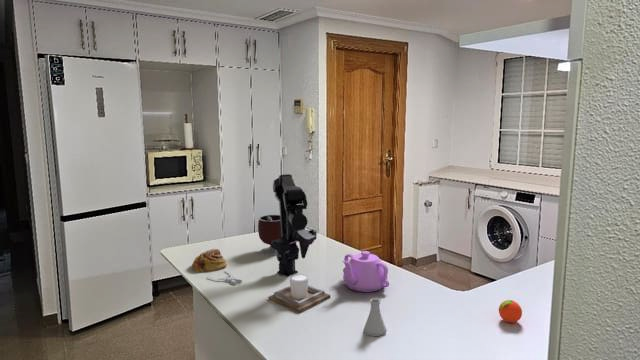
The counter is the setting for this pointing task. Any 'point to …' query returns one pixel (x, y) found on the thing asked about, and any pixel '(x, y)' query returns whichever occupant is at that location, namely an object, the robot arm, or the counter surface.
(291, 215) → the robot arm
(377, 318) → the flask
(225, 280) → the pliers
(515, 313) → the clementine
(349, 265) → the teapot
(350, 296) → the counter surface
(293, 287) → the shot glass
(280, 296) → the brown square tray
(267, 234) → the dark red goblet shape
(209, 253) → the pastry
